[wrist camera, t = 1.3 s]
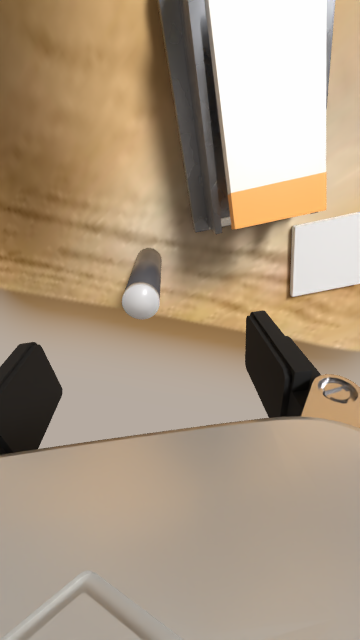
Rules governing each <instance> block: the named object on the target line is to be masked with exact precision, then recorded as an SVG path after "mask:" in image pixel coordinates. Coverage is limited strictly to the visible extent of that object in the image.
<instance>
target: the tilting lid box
mask: <svg viewBox="0 0 360 640" xmlns="http://www.w3.org/2000/svg"><path fill="white" fill-rule="evenodd" d="M157 3H158V9H159V15H160V21H161V28H162V34H163V40H164V46H165V52H166V59H167V65H168V71H169V77H170V84H171V90H172V96H173V102H174V109H175V115H176V121H177V127H178V133H179V140H180V146H181V152H182V158H183V165H184V171H185V177H186V183H187V190H188V196H189V202H190V208H191V214H192V221H193V227H194V230H195V232H201V231H205V230H210V229H212V231H213V232H214V233H215V234H219V233H222V227H224V226H229V225H231V219H230V211H229V202H228V192H227V183H226V175H225V167H224V159H223V151H222V142H221V134H220V126H219V118H218V109H217V101H216V93H215V85H214V77H213V68H212V60H211V52H210V44H209V35H208V27H207V19H206V11H205V2H204V0H157ZM334 10H335V0H326V109H327V96H328V84H329V72H330V59H331V47H332V35H333V22H334ZM314 213H317V212H314ZM310 214H312V213H310Z"/></svg>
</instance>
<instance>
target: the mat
mask: <svg viewBox="0 0 360 640" xmlns="http://www.w3.org/2000/svg"><path fill="white" fill-rule="evenodd" d="M355 284H360V212H356V213H352V214H347V215H342V216H337V217H333V218H328V219H323V220H319V221H314V222H309V223H304V224H300V225H295V226H292V248H291V278H290V295H291V296H292V297H294V296H299V295H304V294H309V293H314V292H320V291H325V290H330V289H335V288H340V287H345V286H350V285H355Z"/></svg>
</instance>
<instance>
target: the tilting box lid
mask: <svg viewBox="0 0 360 640" xmlns="http://www.w3.org/2000/svg"><path fill="white" fill-rule="evenodd" d="M204 2H205V11H206V19H207V27H208V35H209V44H210V52H211V60H212V68H213V77H214V85H215V93H216V101H217V109H218V118H219V126H220V134H221V142H222V151H223V159H224V167H225V175H226V183H227V192H228V202H229V211H230V219H231V227H232V229H239V228H244V227H249V226H253V225H258V224H263V223H267V222H272V221H277V220H281V219H286V218H291V217H295V216H300V215H305V214H310V213H314V212H319V211H324V210H326V0H204Z"/></svg>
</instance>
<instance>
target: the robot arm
mask: <svg viewBox="0 0 360 640" xmlns="http://www.w3.org/2000/svg"><path fill="white" fill-rule="evenodd" d="M245 364H246V369H247V371H248V373H249V375H250V377H251V380H252V382H253V384H254V386H255V388H256V391H257V392H258V395H259V397H260V399H261V401H262V404H263V406H264V408H265V410H266V412H267V414H268V417H269V418H264V419H254V420H246V421H238V422H229V423H221V424H214V425H206V426H199V427H191V428H184V429H177V430H169V431H162V432H155V433H147V434H140V435H134V436H126V437H120V438H112V439H105V440H98V441H91V442H84V443H77V444H71V445H63V446H56V447H50V448H43V449H38V448H39V445H40V443H41V441H42V439H43V436H44V434H45V432H46V430H47V427H48V425H49V423H50V421H51V419H52V416H53V414H54V412H55V410H56V407H57V405H58V403H59V401H60V398H61V396H62V387H61V385H60V383H59V381H58V379H57V377H56V375H55V373H54V371H53V369H52V367H51V365H50V363H49V361H48V359H47V357H46V355H45V353H44V351H43V349H42V347H41V346H40V345H37V344H36V343H35V342H31V343H24V344H20V345H18V346H17V348H16V349H15V350H14V351H13V352H12V354H11V355H10V356H9V357H8V358H7V360H6V361H5V362H4V363H3V364H2V366H1V367H0V640H360V387H359V386H357V385H356V384H355V383H354V382H352V381H351V380H349V379H347V378H344V377H341V376H338V375H332V374H325V375H320V373H319V372H318V371H317V369H316V368H315V367H314V366H313V365H312V363H311V362H310V361H309V360H308V359H307V357H306V356H305V355H304V354H303V353H302V351H301V350H300V349H299V348H298V346H296V344H295V343H294V342H293V340H292V339H291V338H290V337H288V336H285V335H284V334H283V333H282V332H281V330H280V329H279V328H278V327H277V325H276V324H275V323H274V322H273V321H272V319H271V318H270V317H269V316H268V314H267V313H266V312H265V311H257V312H251V314H250V316H247V318H246V354H245Z"/></svg>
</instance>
